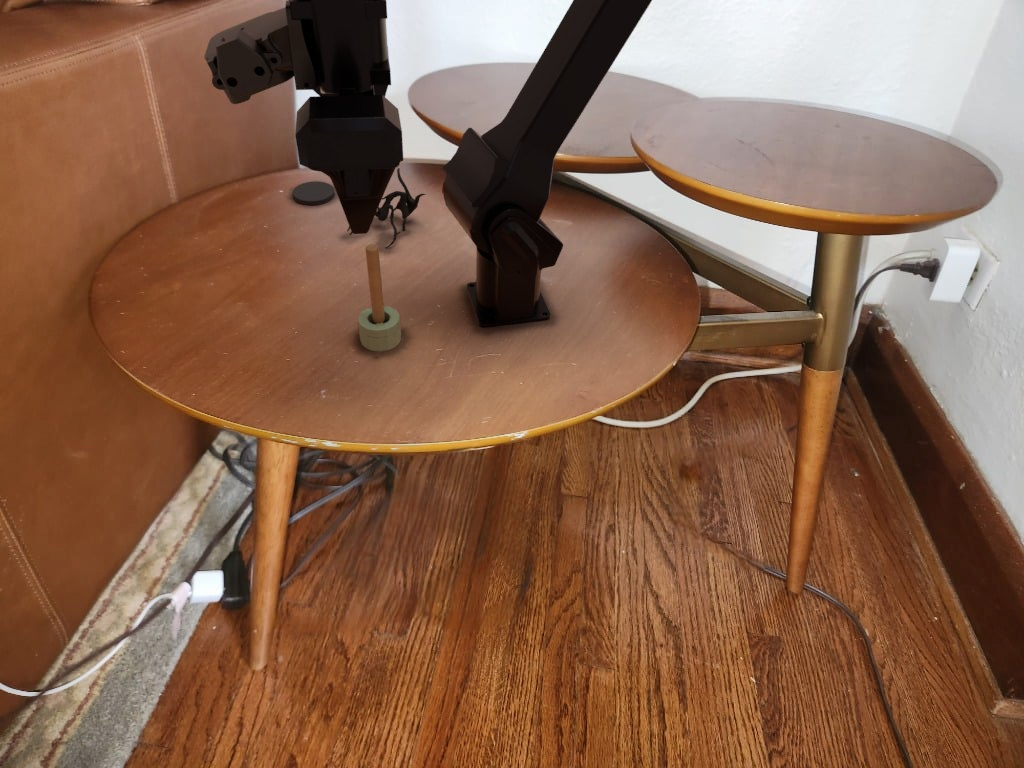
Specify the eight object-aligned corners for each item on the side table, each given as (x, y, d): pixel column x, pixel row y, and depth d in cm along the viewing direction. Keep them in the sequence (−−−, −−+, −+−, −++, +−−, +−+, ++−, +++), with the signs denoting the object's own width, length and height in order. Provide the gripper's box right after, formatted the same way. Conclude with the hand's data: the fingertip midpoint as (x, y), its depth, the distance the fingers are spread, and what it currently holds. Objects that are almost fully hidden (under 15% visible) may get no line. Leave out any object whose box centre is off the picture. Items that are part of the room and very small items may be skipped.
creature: (369, 266, 77) (439, 231, 79) (352, 221, 73) (426, 186, 75) (339, 229, 82) (406, 197, 84) (322, 185, 78) (393, 153, 80)
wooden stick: (387, 342, 66) (379, 251, 60) (375, 344, 66) (366, 252, 60) (385, 332, 67) (377, 241, 61) (373, 333, 67) (364, 243, 61)
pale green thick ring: (404, 350, 66) (402, 327, 64) (362, 356, 65) (359, 332, 63) (398, 326, 68) (396, 303, 67) (358, 331, 68) (355, 307, 66)
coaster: (336, 203, 84) (335, 199, 83) (293, 206, 83) (293, 202, 82) (333, 183, 87) (332, 179, 87) (292, 187, 86) (291, 182, 86)
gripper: (215, -66, 54) (254, 149, 64) (177, 22, 40) (235, 277, 50) (379, -65, 55) (391, 144, 66) (396, 20, 42) (409, 267, 52)
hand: (358, 200), depth 58 cm, fingers open, 9 cm apart
